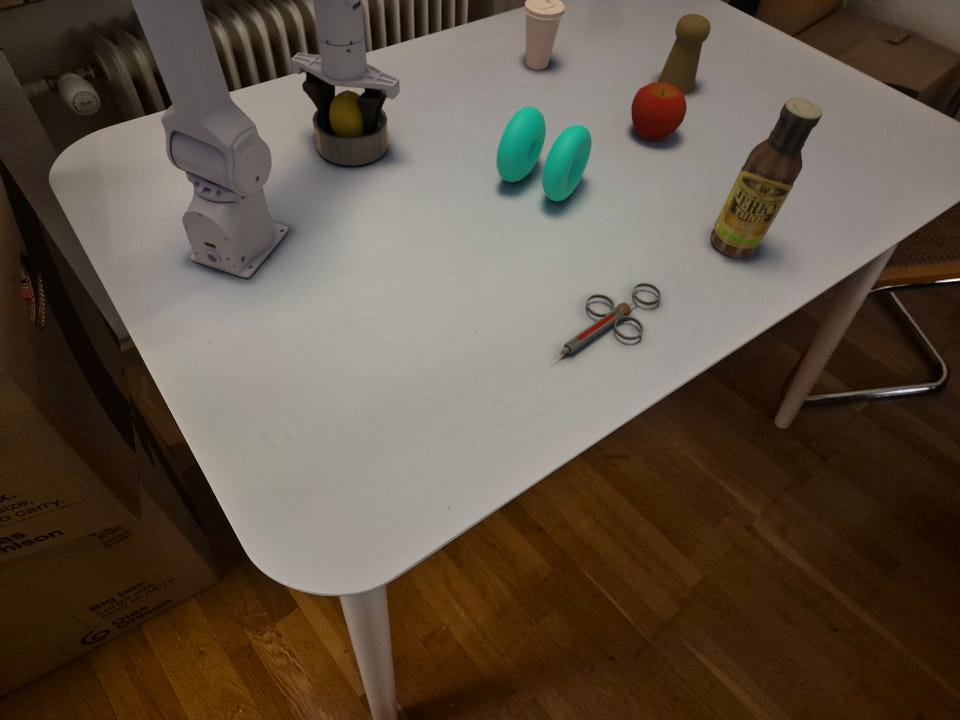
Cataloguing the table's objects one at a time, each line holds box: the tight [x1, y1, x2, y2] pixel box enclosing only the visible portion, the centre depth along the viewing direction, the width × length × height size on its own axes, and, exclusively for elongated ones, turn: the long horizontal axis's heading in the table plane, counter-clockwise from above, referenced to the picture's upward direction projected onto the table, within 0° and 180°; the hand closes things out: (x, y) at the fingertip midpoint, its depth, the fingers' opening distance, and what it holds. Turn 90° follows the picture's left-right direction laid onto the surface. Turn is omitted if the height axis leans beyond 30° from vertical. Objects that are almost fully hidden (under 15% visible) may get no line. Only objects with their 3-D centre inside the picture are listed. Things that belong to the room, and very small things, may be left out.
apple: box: [630, 81, 688, 141], centre depth 98 cm, size 8×8×8 cm
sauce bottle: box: [710, 97, 823, 258], centre depth 79 cm, size 6×6×20 cm
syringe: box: [550, 282, 662, 362], centre depth 76 cm, size 8×18×2 cm, turn 131°
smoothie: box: [523, 0, 565, 71], centre depth 107 cm, size 6×6×14 cm
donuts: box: [496, 106, 592, 202], centre depth 88 cm, size 10×10×10 cm
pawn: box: [657, 13, 711, 96], centre depth 106 cm, size 6×6×11 cm
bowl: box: [311, 108, 389, 166], centre depth 93 cm, size 10×10×4 cm
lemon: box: [329, 89, 364, 138], centre depth 91 cm, size 6×6×8 cm
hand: (351, 131), depth 93 cm, fingers closed on lemon, 5 cm apart
